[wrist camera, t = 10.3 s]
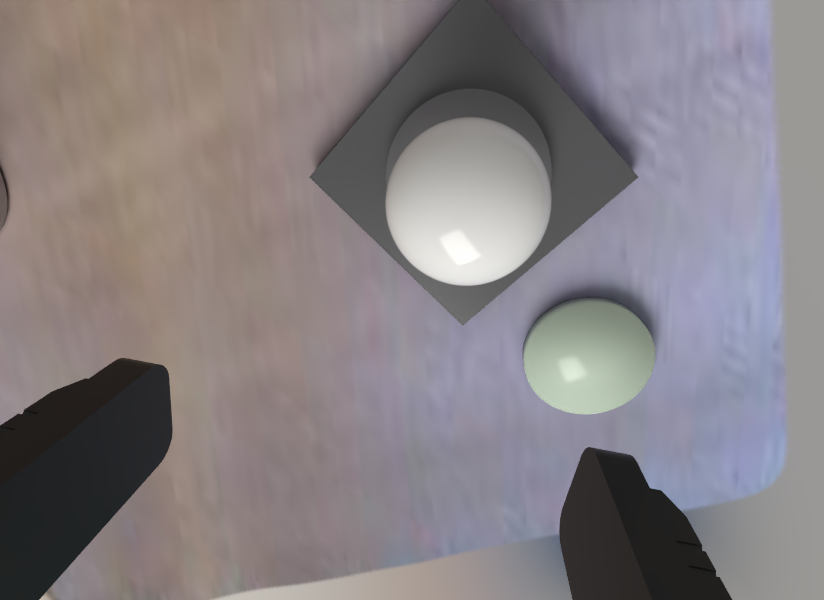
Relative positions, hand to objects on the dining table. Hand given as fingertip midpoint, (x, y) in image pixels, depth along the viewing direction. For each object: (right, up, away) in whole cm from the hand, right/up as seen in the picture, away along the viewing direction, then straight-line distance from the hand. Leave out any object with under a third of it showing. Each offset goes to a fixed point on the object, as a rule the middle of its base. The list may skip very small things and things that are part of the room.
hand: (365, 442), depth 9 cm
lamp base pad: (+4, +10, +18) cm, 21 cm away
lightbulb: (+4, +9, +17) cm, 19 cm away
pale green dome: (+12, -1, +21) cm, 25 cm away
